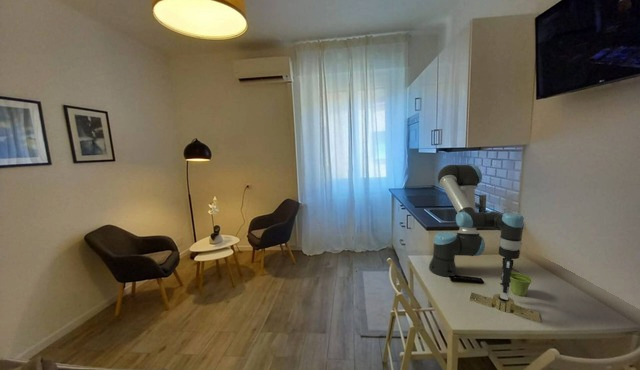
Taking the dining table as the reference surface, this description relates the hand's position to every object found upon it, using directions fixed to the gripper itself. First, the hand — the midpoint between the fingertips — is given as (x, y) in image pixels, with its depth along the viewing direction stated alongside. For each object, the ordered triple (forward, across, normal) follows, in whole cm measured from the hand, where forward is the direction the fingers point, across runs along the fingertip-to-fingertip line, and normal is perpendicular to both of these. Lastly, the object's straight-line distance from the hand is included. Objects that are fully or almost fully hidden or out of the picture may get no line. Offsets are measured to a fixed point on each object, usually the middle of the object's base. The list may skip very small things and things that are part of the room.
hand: (504, 292), depth 116 cm
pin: (+7, 0, 0) cm, 7 cm away
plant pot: (+7, +19, -6) cm, 21 cm away
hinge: (+7, 0, 0) cm, 7 cm away
